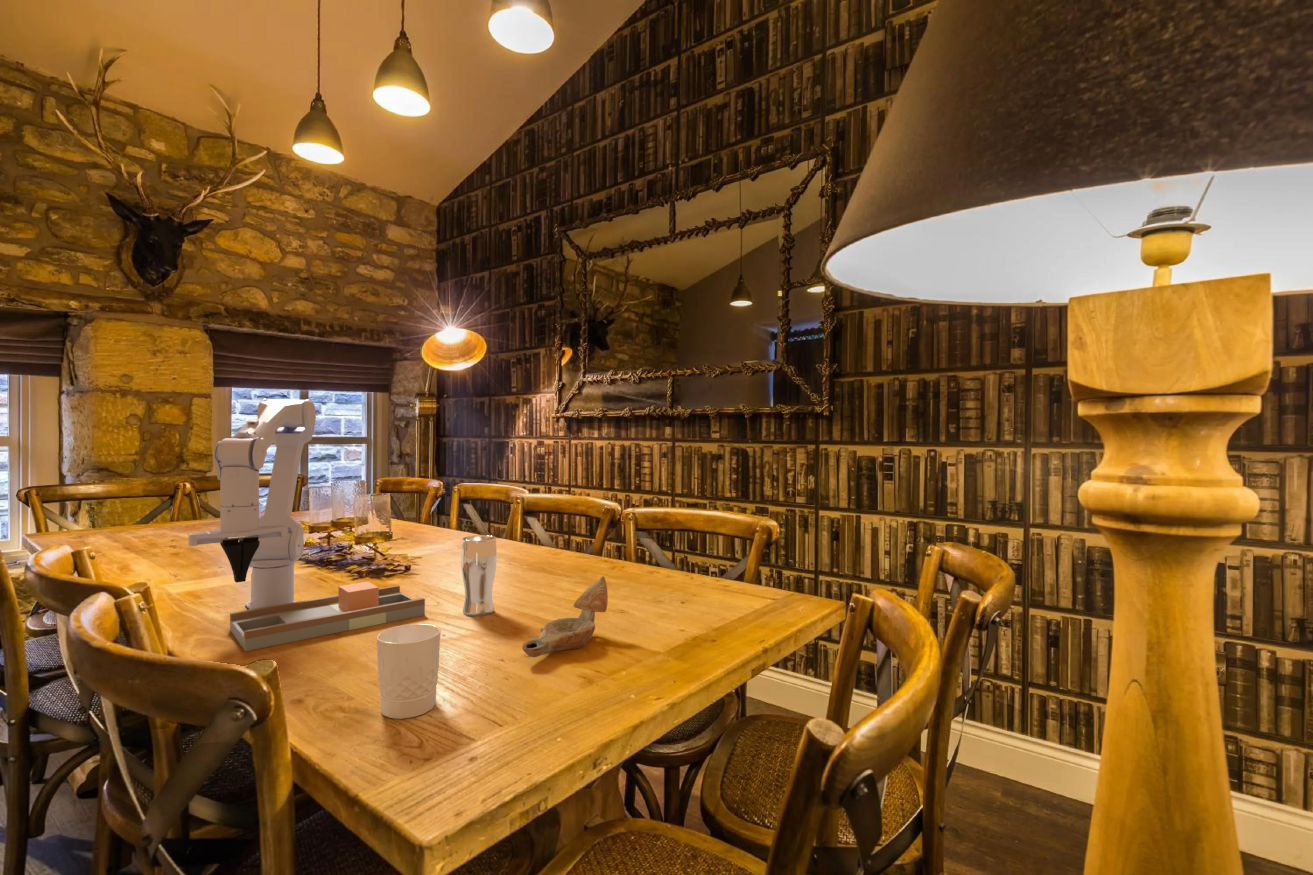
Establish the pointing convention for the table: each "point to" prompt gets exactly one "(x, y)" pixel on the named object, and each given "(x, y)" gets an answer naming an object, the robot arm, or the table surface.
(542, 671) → the table surface
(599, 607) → the oil lamp
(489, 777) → the table surface
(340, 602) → the block
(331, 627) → the grey long tray
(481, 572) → the beer glass
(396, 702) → the white cup
